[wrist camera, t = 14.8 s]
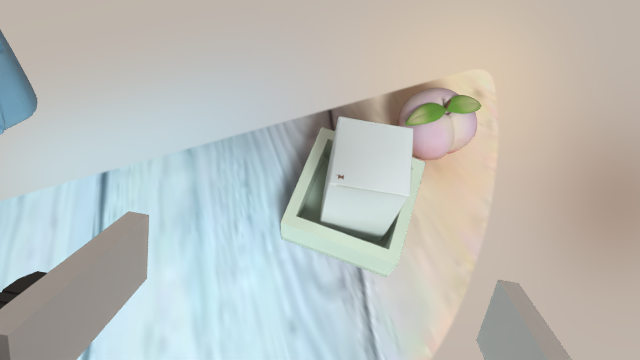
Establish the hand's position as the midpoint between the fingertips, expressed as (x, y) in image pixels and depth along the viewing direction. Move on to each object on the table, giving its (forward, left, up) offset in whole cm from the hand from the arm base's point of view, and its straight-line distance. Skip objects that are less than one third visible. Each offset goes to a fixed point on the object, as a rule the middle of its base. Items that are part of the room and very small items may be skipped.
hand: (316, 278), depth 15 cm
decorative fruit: (+6, +28, -30) cm, 41 cm away
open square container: (0, +16, -30) cm, 34 cm away
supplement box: (+1, +16, -29) cm, 33 cm away
